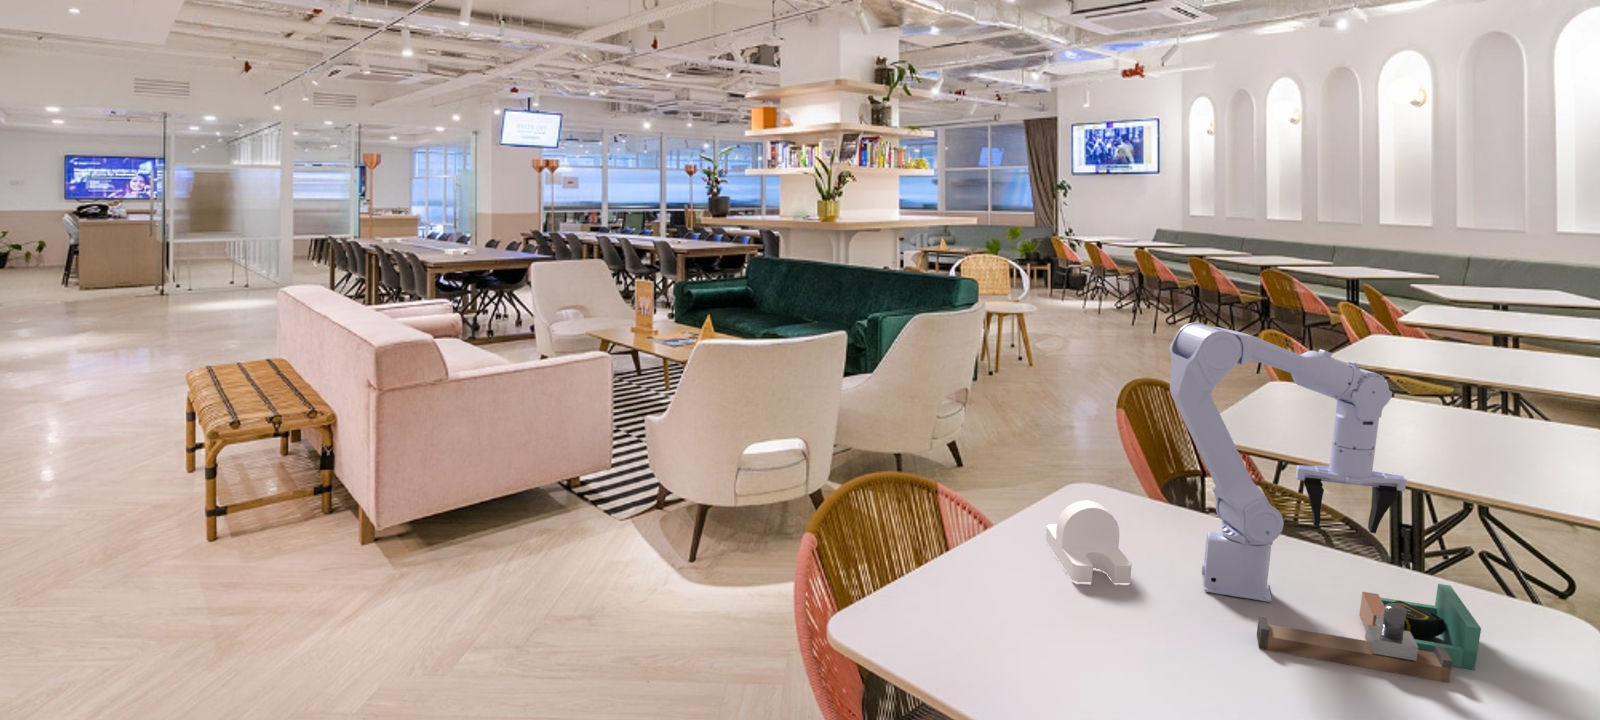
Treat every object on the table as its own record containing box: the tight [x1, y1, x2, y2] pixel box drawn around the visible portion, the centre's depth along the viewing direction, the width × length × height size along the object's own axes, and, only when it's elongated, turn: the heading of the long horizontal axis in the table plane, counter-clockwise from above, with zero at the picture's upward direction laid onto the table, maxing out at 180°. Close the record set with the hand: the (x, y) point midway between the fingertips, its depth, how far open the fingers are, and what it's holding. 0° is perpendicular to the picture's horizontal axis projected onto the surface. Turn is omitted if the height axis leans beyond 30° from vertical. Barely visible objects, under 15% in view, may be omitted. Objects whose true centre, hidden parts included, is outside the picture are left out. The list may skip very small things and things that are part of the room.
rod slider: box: [1358, 591, 1418, 661], centre depth 121 cm, size 5×16×8 cm, turn 157°
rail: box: [1256, 615, 1453, 683], centre depth 118 cm, size 22×4×3 cm, turn 67°
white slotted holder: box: [1045, 499, 1133, 584], centre depth 149 cm, size 10×18×11 cm, turn 179°
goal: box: [1379, 583, 1482, 671], centre depth 123 cm, size 10×14×6 cm
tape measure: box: [1384, 599, 1445, 642], centre depth 125 cm, size 7×7×4 cm
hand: (1343, 527), depth 138 cm, fingers open, 7 cm apart
